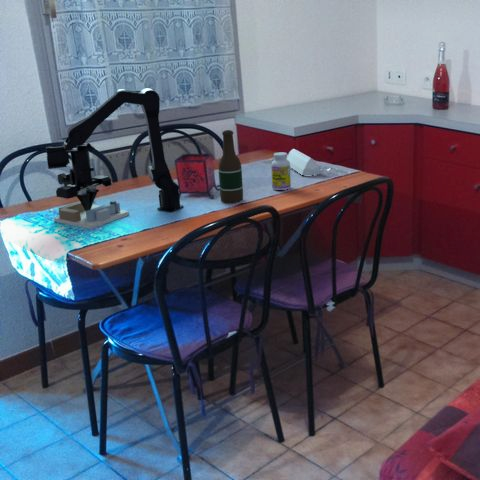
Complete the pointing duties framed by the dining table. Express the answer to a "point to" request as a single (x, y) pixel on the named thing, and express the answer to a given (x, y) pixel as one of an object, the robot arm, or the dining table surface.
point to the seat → (77, 216)
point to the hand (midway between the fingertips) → (87, 212)
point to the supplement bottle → (280, 172)
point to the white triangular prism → (302, 163)
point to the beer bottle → (230, 171)
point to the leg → (112, 206)
